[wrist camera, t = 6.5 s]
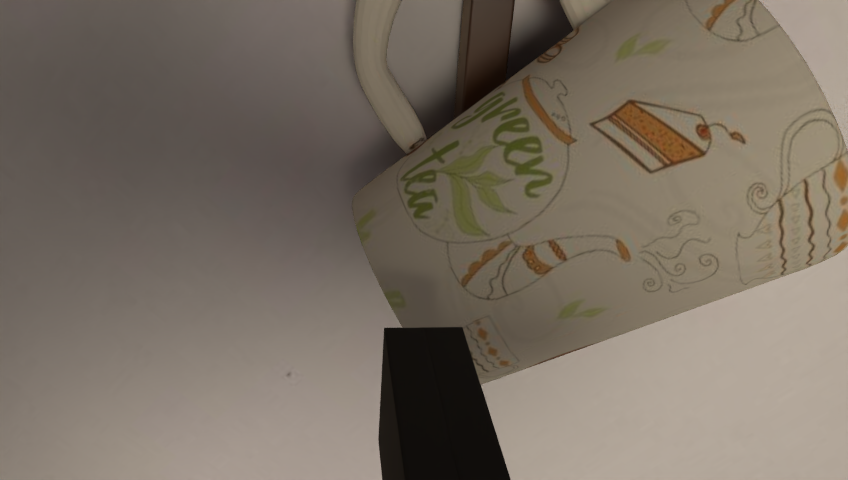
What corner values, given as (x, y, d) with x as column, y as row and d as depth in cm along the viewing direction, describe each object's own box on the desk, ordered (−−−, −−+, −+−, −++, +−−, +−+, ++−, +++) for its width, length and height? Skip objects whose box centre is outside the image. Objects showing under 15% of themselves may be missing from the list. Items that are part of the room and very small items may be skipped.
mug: (488, 499, 16) (915, 292, 15) (183, -12, 14) (649, -303, 13) (474, 362, 24) (748, 220, 23) (279, 25, 22) (569, -150, 21)
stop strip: (469, -83, 19) (478, -81, 18) (512, -80, 19) (524, -77, 18) (429, 395, 26) (434, 416, 25) (461, 394, 26) (467, 415, 25)
